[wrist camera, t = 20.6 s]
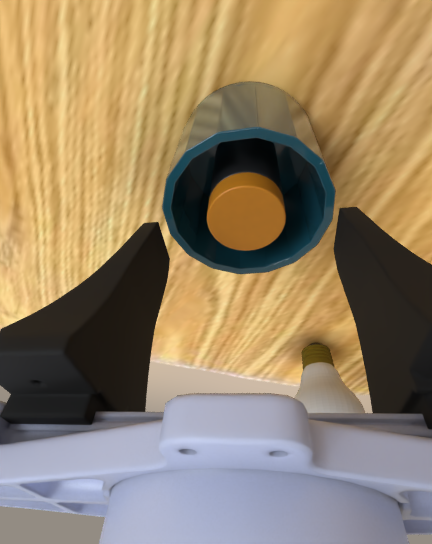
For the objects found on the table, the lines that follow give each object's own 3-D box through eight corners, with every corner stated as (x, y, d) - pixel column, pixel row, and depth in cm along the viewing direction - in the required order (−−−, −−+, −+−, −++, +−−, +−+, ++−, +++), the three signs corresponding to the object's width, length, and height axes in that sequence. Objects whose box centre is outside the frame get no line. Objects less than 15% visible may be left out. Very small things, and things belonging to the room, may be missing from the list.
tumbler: (338, 104, 17) (370, 158, 12) (283, 220, 22) (292, 286, 17) (195, 62, 16) (177, 104, 11) (173, 193, 21) (154, 256, 17)
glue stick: (276, 123, 17) (286, 182, 13) (276, 182, 19) (285, 248, 15) (211, 131, 17) (200, 190, 13) (219, 188, 20) (212, 253, 15)
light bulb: (273, 336, 31) (282, 451, 24) (336, 320, 29) (367, 442, 22) (295, 365, 34) (309, 473, 27) (353, 353, 32) (384, 467, 25)
